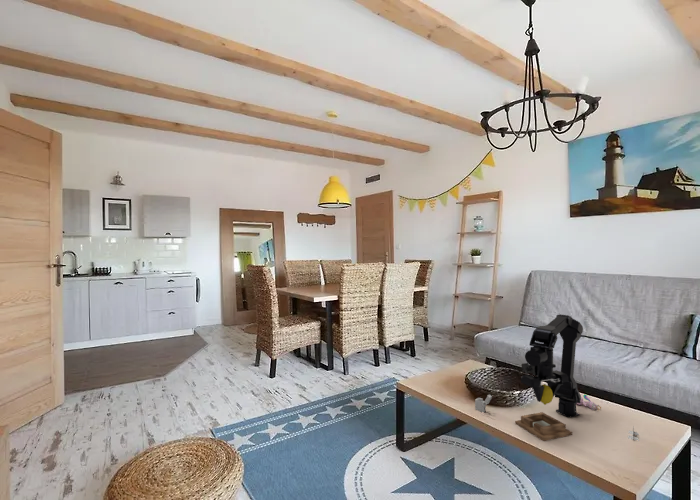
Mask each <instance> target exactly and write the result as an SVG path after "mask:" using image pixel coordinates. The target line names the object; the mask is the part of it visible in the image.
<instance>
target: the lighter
mask: <svg viewBox="0 0 700 500" xmlns="http://www.w3.org/2000/svg"><path fill="white" fill-rule="evenodd" d="M492 398H493V396H492V395H491V394H490V393H489V394H487V396H486V398H485V400H484V398H481V397H477V398H476V399H474V410H475V411H478V412H481V413H486V405H489V403H490V402H491V400H492Z"/></svg>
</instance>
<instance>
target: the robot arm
mask: <svg viewBox="0 0 700 500" xmlns="http://www.w3.org/2000/svg"><path fill="white" fill-rule="evenodd" d="M583 331H584V327H583V325H582V324H581V322H580V321H578V320H576V319H574V318H573V317H572V316H570V315H569V314H567V315H566V314H562V313H561V314H560V313H559V314H557V315H556V317H555V318H554V319H552V321H550V322H549V323H548V324H547V325H540V326H538V327H536V328H535V329H534V330H533V332H532V335H531V338H530V341H529V346H530V347H529V348H530V349H529V350H528V351H526V353H525V355H524V359H525V361H526V363H525V362H523V363H521V371H522V372H523V373H524V372H525V374H524V375H522V376H521V377H520V383H522V384H523V385H526V386H527V387H530V388H532V390H533V392H534V395H535V398H536V400H537V402H540V401H541V398H542V394H543V390H544V386H542V385H543V384H542V383H543V382H546V385H547V386H549V387H550V388H551V390H552V392H553V398H557V399H558V402H557V403H558V409H555V412H557V413H559V414H560V415H562V416H565V417H567V418H573V417H579V416H580V413H578V412H577V405H578V404H577V403H580V400H581V397H582V396H581V393H580V391H579V389H578V383H577V381H576V380H575V378H574V373H575V372H574V371H575V359H576V358H575V357H576V347H577V342H579V340H580V339H581V338H582V334H583ZM558 334H559V335H560V337H561V339H562V351H561V352H562V353H561V361H560V362H561V363H560V371H559V370H557V369H556V370H554V368H556V367H557V365H556V364H554V349H555V345H556V343H557V341H558ZM540 403H541V402H540Z"/></svg>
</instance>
